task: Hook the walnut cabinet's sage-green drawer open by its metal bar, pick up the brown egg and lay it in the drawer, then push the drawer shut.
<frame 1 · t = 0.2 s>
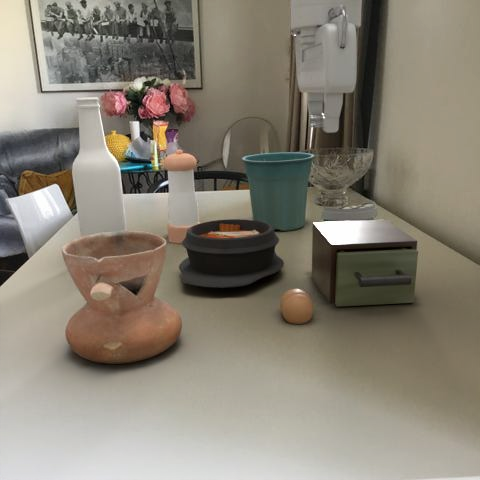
hand: (322, 129, 76), 25 cm above the table, tool pointing down, fingers open, 8 cm apart
cabinet: (358, 289, 92), on the table
casserole: (231, 275, 101), on the table
drawer: (368, 269, 85), point 5 cm above the table, slide at 1.0 cm
alcohol: (107, 261, 112), on the table
flower pot: (278, 226, 135), on the table
food container: (354, 258, 109), on the table
salt shaker: (185, 240, 126), on the table
egg: (296, 321, 80), on the table
ceramic jug: (128, 349, 74), on the table
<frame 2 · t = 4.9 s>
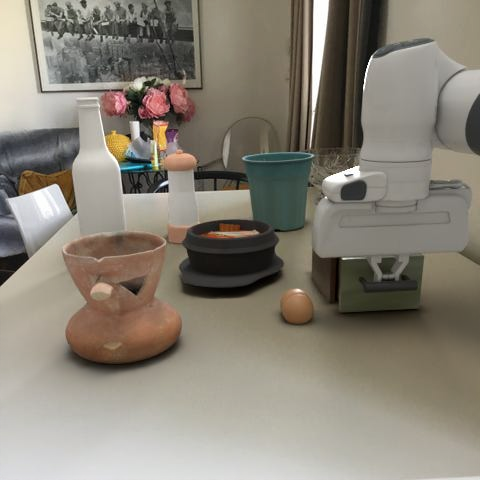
hand: (385, 285, 77), 5 cm above the table, tool pointing down, fingers closed, pressing on drawer
drawer: (372, 274, 83), point 5 cm above the table, slide at 3.4 cm, touching gripper
everything else where it was.
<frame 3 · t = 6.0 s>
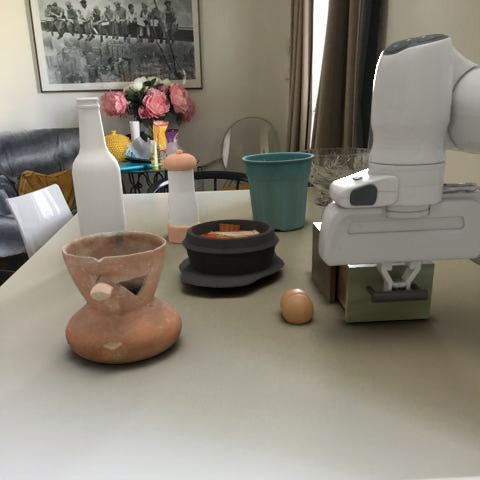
hand: (396, 293, 73), 6 cm above the table, tool pointing down, fingers closed
drawer: (380, 282, 80), point 5 cm above the table, slide at 7.1 cm
everything else where it was.
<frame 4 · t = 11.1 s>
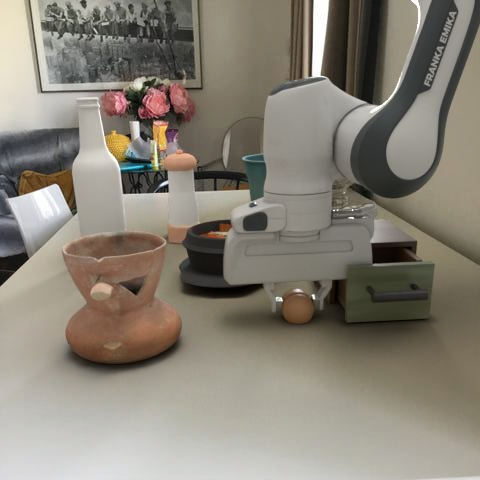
hand: (296, 309, 79), 2 cm above the table, tool pointing down, fingers closed on egg, 4 cm apart
egg: (296, 321, 80), on the table, touching gripper
everything else where it was.
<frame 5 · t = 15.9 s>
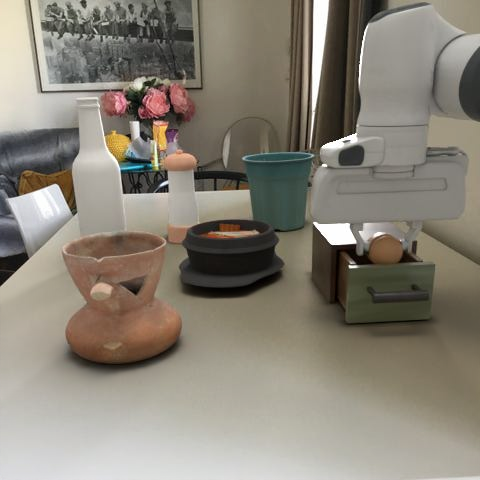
hand: (383, 253, 77), 9 cm above the table, tool pointing down, fingers closed on egg, 4 cm apart
drawer: (380, 283, 80), point 5 cm above the table, slide at 7.4 cm, touching egg
egg: (382, 265, 78), point 8 cm above the table, touching drawer, gripper
everything else where it was.
when the fingers open (9 cm above the table, at t = 16.1 s): egg drops 5 cm, resting on drawer.
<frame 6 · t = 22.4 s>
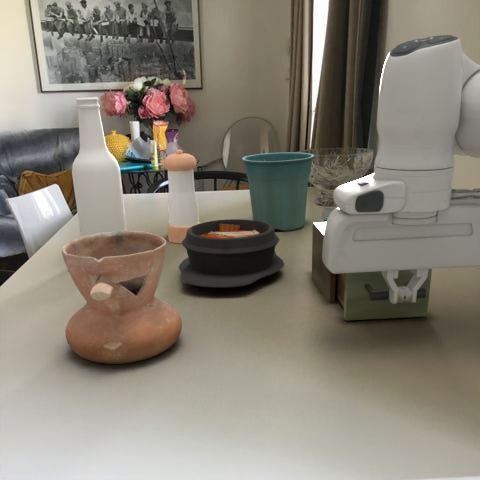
hand: (402, 301, 71), 5 cm above the table, tool pointing down, fingers closed
drawer: (378, 280, 80), point 5 cm above the table, slide at 6.4 cm, touching egg, gripper
egg: (380, 297, 80), point 3 cm above the table, tilted 29°, touching drawer
everything else where it was.
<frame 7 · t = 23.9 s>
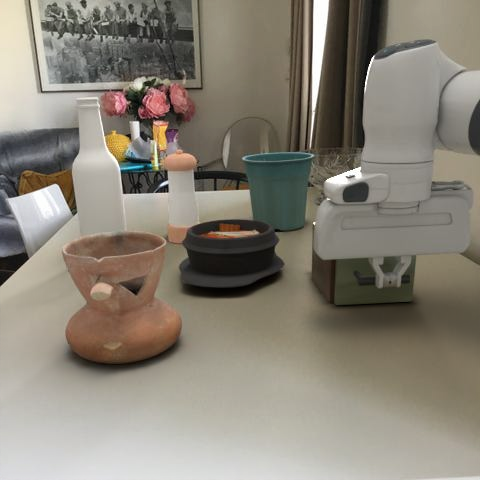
hand: (387, 286, 77), 5 cm above the table, tool pointing down, fingers closed, pressing on drawer
drawer: (367, 268, 86), point 5 cm above the table, slide at 0.4 cm, touching egg, gripper
egg: (368, 284, 85), point 3 cm above the table, tilted 29°, touching drawer
everything else where it was.
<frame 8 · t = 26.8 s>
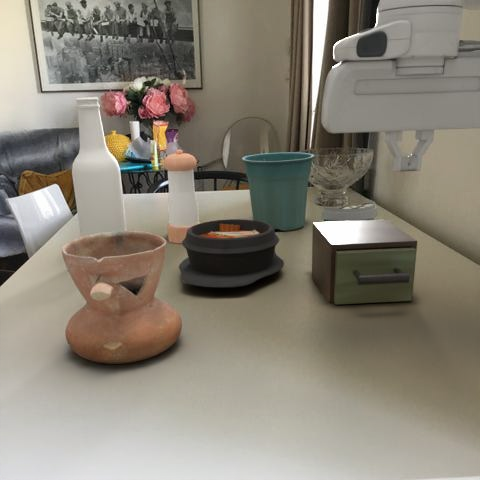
hand: (406, 171, 67), 21 cm above the table, tool pointing down, fingers closed
drawer: (366, 268, 86), point 5 cm above the table, slide at 0.2 cm, touching egg
everything else where it was.
at the end: egg inside the target area in the cabinet (5.5 cm from its centre), point 2.8 cm above the cabinet's base; drawer slide at 0.2 cm; the gripper is holding nothing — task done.
